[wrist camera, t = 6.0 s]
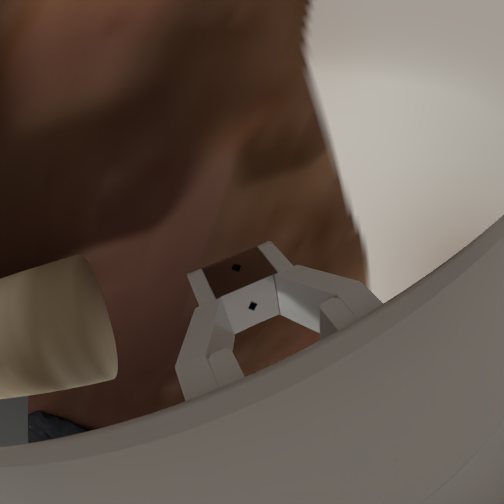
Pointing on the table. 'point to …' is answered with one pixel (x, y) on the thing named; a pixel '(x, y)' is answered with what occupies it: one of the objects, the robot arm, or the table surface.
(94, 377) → the dowel peg
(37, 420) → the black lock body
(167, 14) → the table surface
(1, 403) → the socket block
